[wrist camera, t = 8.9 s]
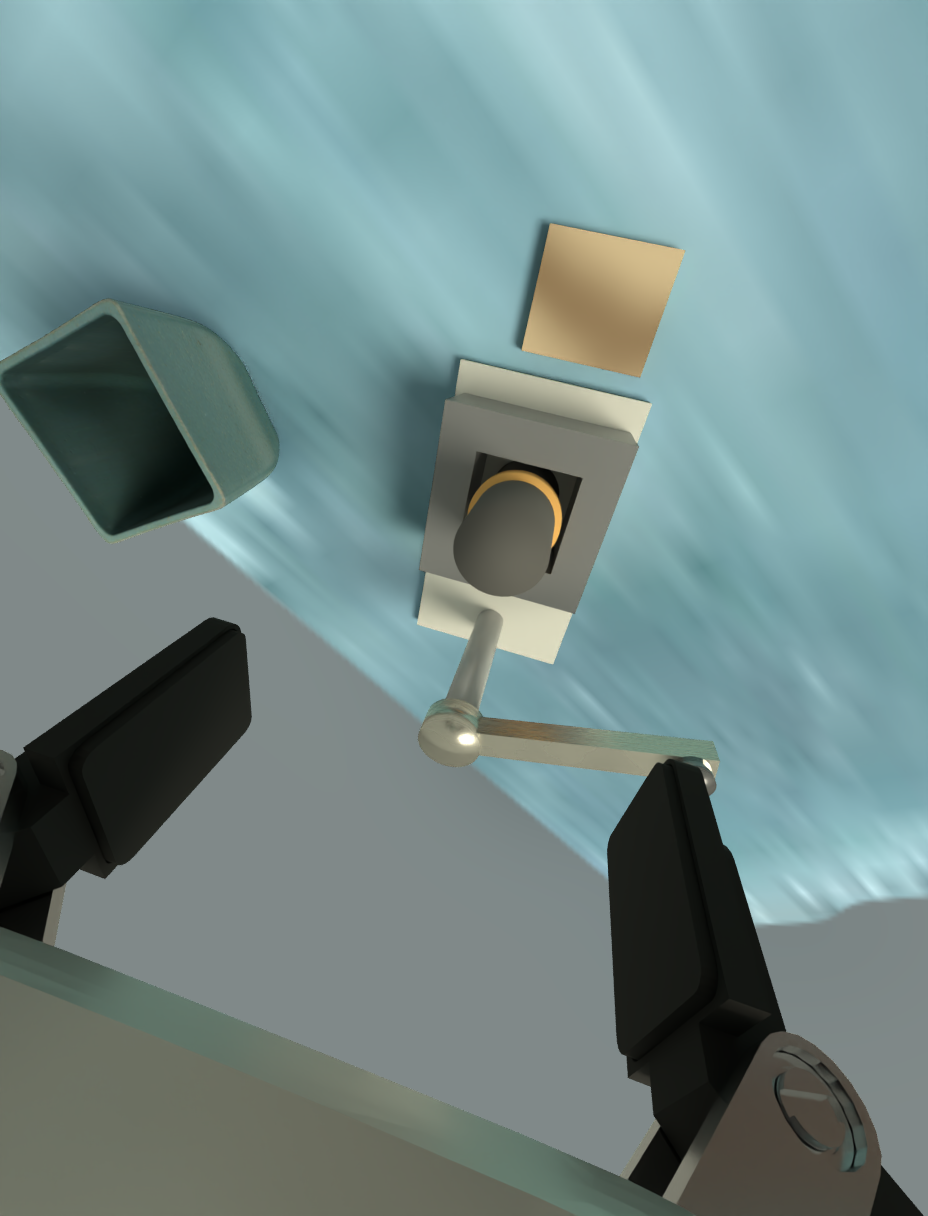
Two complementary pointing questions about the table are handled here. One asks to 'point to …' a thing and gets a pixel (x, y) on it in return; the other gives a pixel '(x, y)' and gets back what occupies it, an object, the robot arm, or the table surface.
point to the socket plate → (588, 492)
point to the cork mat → (599, 299)
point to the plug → (509, 530)
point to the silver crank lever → (554, 743)
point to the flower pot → (141, 416)
